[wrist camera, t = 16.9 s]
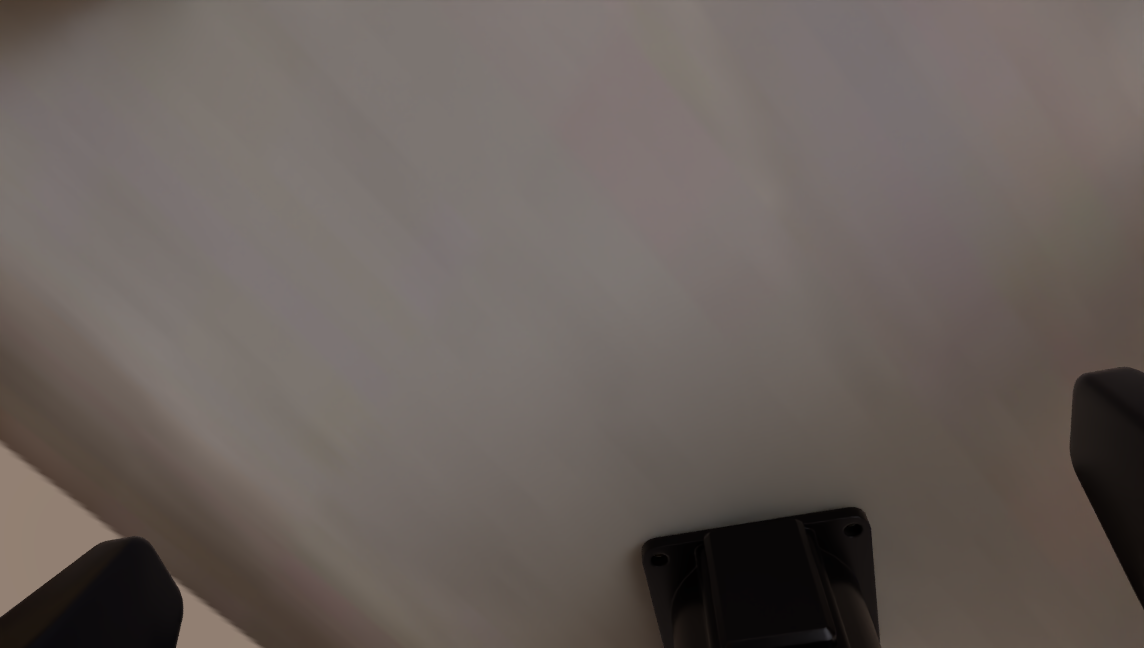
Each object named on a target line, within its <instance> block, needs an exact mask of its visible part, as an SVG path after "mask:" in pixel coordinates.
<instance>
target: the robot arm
mask: <svg viewBox="0 0 1144 648" xmlns="http://www.w3.org/2000/svg"><path fill="white" fill-rule="evenodd" d="M1070 456H1071V460H1072V464H1073V467H1074V470H1075V473H1076V475H1077V477H1078V479H1079V481H1080V483H1081V485H1082V487H1083V489H1084V491H1085V493H1086V495H1087V497H1088V499H1089V501H1090V503H1091V505H1092V507H1093V509H1094V511H1095V513H1096V515H1097V517H1098V519H1099V521H1100V523H1101V525H1102V527H1103V529H1104V531H1105V533H1106V535H1107V537H1108V539H1109V541H1110V543H1111V545H1112V547H1113V549H1114V551H1115V554H1116V556H1117V558H1118V560H1119V562H1120V564H1121V566H1122V568H1123V570H1124V572H1125V574H1126V576H1127V578H1128V580H1129V582H1130V584H1131V586H1132V588H1133V590H1134V592H1135V594H1136V596H1137V598H1138V600H1139V601H1140V603H1141V605H1142V607H1143V609H1144V372H1141V371H1139V370H1136V369H1133V368H1130V367H1118V368H1112V369H1106V370H1101V371H1095V372H1089V373H1084V374H1082V375H1081V376H1080V377H1079V378H1077V380H1076V382H1075V384H1074V388H1073V400H1072V416H1071V432H1070ZM850 524H856V525H855V526H852V527H846V526H847V525H850ZM656 554H664V555H663V556H661V557H656V556H654V555H656ZM642 562H643V566H644V570H645V574H646V578H647V582H648V586H649V590H650V594H651V598H652V602H653V606H654V610H655V614H656V618H657V622H658V626H659V630H660V634H661V638H662V642H663V645H664V648H881V645H880V637H879V625H878V612H877V599H876V587H875V574H874V561H873V549H872V536H871V527H870V524H869V521H868V519H867V516H866V514H865V512H863V511H862V510H861V509H858V508H855V507H848V508H841V509H835V510H829V511H822V512H816V513H810V514H803V515H797V516H791V517H784V518H778V519H772V520H765V521H759V522H753V523H746V524H740V525H734V526H727V527H721V528H715V529H708V530H702V531H696V532H689V533H683V534H677V535H670V536H664V537H658V538H653V539H650V540H648V541H647V542H646V543H645V544H644V545H643V547H642ZM182 618H183V600H182V596H181V593H180V590H179V588H178V587H177V585H176V583H175V582H174V580H173V579H172V577H171V575H170V574H169V572H168V570H167V569H166V567H165V566H164V564H163V562H162V561H161V559H160V557H159V556H158V554H157V553H156V551H155V549H154V548H153V546H152V545H151V544H150V542H149V541H147V540H146V539H144V538H142V537H138V536H132V537H127V538H121V539H115V540H110V541H105V542H102V543H100V544H98V545H96V546H94V547H93V548H92V549H91V550H89V551H88V552H86V553H85V554H84V555H82V556H81V557H80V558H79V559H77V560H76V561H75V562H74V563H72V564H71V565H69V566H68V567H67V568H65V569H64V570H63V571H61V572H60V573H59V574H57V575H56V576H55V577H53V578H52V579H51V580H49V581H48V582H47V583H45V584H44V585H43V586H41V587H40V588H39V589H37V590H36V591H35V592H33V593H32V594H31V595H30V596H28V597H27V598H25V599H24V600H23V601H22V602H20V603H19V604H18V605H16V606H15V607H13V608H12V609H11V610H9V611H8V612H7V613H6V614H4V615H3V616H1V617H0V648H176V644H177V640H178V636H179V631H180V626H181V622H182Z"/></svg>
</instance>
